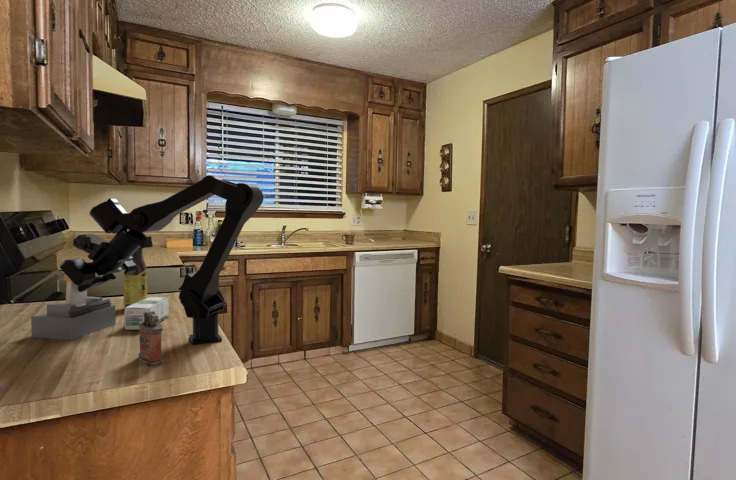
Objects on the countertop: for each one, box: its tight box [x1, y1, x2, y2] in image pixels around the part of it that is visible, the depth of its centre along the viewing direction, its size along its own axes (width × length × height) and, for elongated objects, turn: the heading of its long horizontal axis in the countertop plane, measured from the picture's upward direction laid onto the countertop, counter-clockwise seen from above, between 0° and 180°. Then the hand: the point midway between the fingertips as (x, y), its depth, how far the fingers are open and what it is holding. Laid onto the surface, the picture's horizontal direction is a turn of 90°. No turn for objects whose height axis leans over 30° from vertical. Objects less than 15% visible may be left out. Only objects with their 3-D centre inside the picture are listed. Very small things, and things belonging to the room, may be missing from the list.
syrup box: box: [124, 296, 170, 331], centre depth 109 cm, size 6×6×14 cm
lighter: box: [138, 311, 163, 368], centre depth 82 cm, size 8×3×10 cm, turn 45°
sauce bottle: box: [123, 247, 148, 309], centre depth 124 cm, size 7×6×20 cm
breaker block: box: [30, 296, 116, 341], centre depth 100 cm, size 10×14×7 cm
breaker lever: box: [63, 273, 88, 308], centre depth 100 cm, size 2×6×9 cm, turn 174°
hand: (79, 290), depth 100 cm, fingers closed, pressing on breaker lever
